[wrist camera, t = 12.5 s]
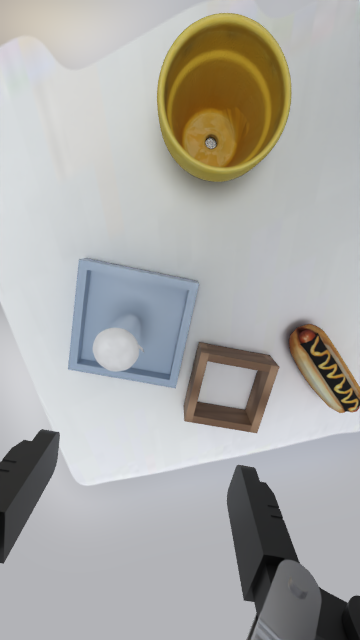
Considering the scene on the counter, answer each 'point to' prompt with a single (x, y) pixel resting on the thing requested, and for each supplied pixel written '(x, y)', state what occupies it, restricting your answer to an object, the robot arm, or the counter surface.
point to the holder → (226, 415)
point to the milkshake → (119, 344)
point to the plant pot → (223, 96)
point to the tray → (139, 300)
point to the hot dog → (324, 368)
